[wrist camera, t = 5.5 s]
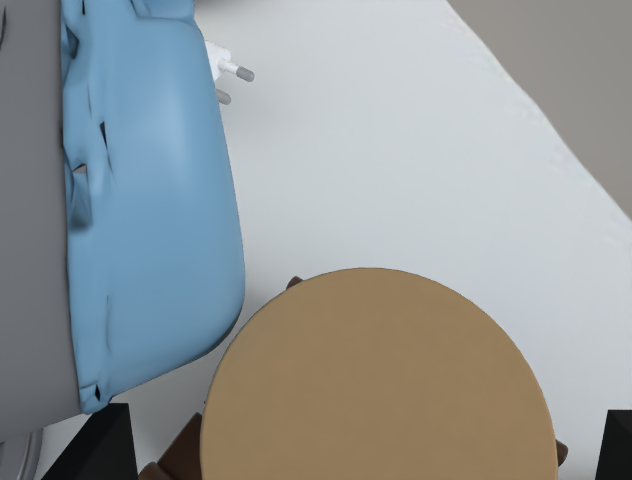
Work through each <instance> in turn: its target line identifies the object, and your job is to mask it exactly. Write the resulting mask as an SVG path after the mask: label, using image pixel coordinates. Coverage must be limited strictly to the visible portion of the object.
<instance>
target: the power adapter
mask: <svg viewBox="0 0 632 480" xmlns="http://www.w3.org/2000/svg"><path fill="white" fill-rule="evenodd" d="M204 40H205V45H206V49H207V53H208V58H209V62H210V67H211V71H212V75H213V80H214V81H215V80H216V79H217V78H218V77H219V76H220V75H221V74H222V73H223V72H224V71H228V72H230V73H233V74H235V75H237V76H238V77H240V78H242V79H244V80H246V81H248V82H251V81H253V80H254V77H255V76H254V73H253V72H251V71H249V70H247V69H245V68H243V67H240V66H238V65H235V64H233V63H231V62H230V57H231V54H230V52H229V51H228V50H226V49H225V48H223V47H221V46H219V45H217V44H214V43H212V42H210V41H208V40H206V39H204ZM216 93H217V98H218V101H219V102H221V103H222V104H225V105H227V104H229V103H230V101H231V97H230V95H228V94H226V93H224V92H222V91H220V90H218V89H216Z"/></svg>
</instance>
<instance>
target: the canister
mask: <svg viewBox="0 0 632 480" xmlns="http://www.w3.org/2000/svg"><path fill="white" fill-rule="evenodd" d="M200 467H201V476H202V480H558V460H557V449H556V440H555V435H554V430H553V426H552V421H551V416H550V413H549V410H548V407H547V404H546V402H545V399H544V396H543V393H542V391H541V388H540V386H539V384H538V382H537V380H536V378H535V376H534V374H533V372H532V370H531V368H530V367H529V365H528V363H527V362H526V360H525V358H524V357H523V355H522V354H521V352H520V350H519V349H518V348H517V347H516V345H515V344H514V343H513V341H512V340H511V339H510V338H509V336H508V335H507V334H506V333H505V332H504V330H503V329H502V328H501V327H500V326H499V325H498V324H497V323H496V322H495V321H494V320H493V319H492V318H491V317H490V316H489V315H487V314H486V313H485V312H484V311H482V310H481V309H480V308H479V307H478V306H476V305H475V304H474V303H473V302H471V301H470V300H468V299H466V298H465V297H463V296H462V295H460V294H459V293H457V292H456V291H454V290H452V289H450V288H448V287H446V286H444V285H442V284H440V283H438V282H436V281H433V280H430V279H427V278H425V277H422V276H419V275H416V274H412V273H408V272H404V271H399V270H392V269H384V268H352V269H343V270H338V271H333V272H329V273H325V274H321V275H318V276H315V277H313V278H310V279H307V280H305V281H302V282H300V283H298V284H296V285H294V286H292V287H291V288H289V289H287V290H285V291H283V292H282V293H280V294H279V295H278V296H276V297H275V298H273V299H272V300H270V301H269V302H268V303H266V304H265V305H264V306H263V307H262V308H261V309H260V310H258V311H257V312H256V313H255V314H254V315H253V316H252V317H251V318H250V319H249V320H248V321H247V323H246V324H245V325H244V326H243V327H242V328H241V329H240V331H239V332H238V333H237V335H236V336H235V338H234V339H233V340H232V342H231V343H230V345H229V346H228V348H227V350H226V351H225V353H224V355H223V357H222V359H221V361H220V363H219V364H218V366H217V369H216V371H215V374H214V376H213V379H212V382H211V384H210V387H209V390H208V394H207V398H206V402H205V405H204V409H203V416H202V423H201V431H200Z"/></svg>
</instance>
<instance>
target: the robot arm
mask: <svg viewBox="0 0 632 480" xmlns="http://www.w3.org/2000/svg"><path fill="white" fill-rule="evenodd" d="M244 292H245V265H244V254H243V245H242V236H241V229H240V222H239V215H238V208H237V202H236V196H235V190H234V183H233V177H232V172H231V166H230V161H229V155H228V150H227V144H226V139H225V133H224V128H223V123H222V118H221V113H220V108H219V103H218V98H217V93H216V88H215V84H214V80H213V75H212V71H211V67H210V62H209V58H208V53H207V49H206V45H205V40H204V37H203V35H202V33H201V31H200V29H199V28H198V26H197V24H196V22H195V20H194V1H193V0H0V480H33V478H34V475H35V472H36V468H37V464H38V460H39V455H40V449H41V442H42V430H43V427H46V426H48V425H51V424H54V423H57V422H59V421H62V420H65V419H68V418H71V417H73V416H76V415H79V414H82V413H84V414H87V415H88V414H91V413H93V414H92V415H91V417H90V418H89V419H88V420H87V422H86V423H85V424H84V425H83V427H82V428H81V429H80V431H79V432H78V433H77V434H76V436H75V437H74V438H73V439H72V441H71V442H70V443H69V445H68V446H67V447H66V448H65V450H64V451H63V452H62V453H61V455H60V456H59V457H58V459H57V460H56V461H55V462H54V464H53V465H52V466H51V467H50V469H49V470H48V471H47V472H46V474H45V475H44V476H43V478H42V479H41V480H138V472H137V465H136V457H135V450H134V442H133V435H132V428H131V420H130V413H129V405H128V403H109V402H110V401H111V399H112V397H114V396H116V395H118V394H120V393H123V392H125V391H127V390H129V389H132V388H134V387H136V386H138V385H141V384H143V383H145V382H147V381H150V380H152V379H154V378H156V377H159V376H161V375H163V374H165V373H168V372H170V371H172V370H174V369H177V368H179V367H181V366H183V365H185V364H188V363H190V362H192V361H194V360H197V359H199V358H201V357H203V356H205V355H206V354H208V353H209V352H211V351H212V350H213V349H215V348H216V347H217V346H218V345H219V344H220V343H221V342H222V341H223V340H224V339H225V338H226V337H227V336H228V334H229V333H230V332H231V330H232V329H233V327H234V325H235V324H236V322H237V320H238V317H239V315H240V312H241V310H242V305H243V300H244ZM595 480H632V410H608V413H607V418H606V424H605V429H604V434H603V440H602V445H601V450H600V456H599V461H598V466H597V472H596V477H595Z"/></svg>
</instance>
